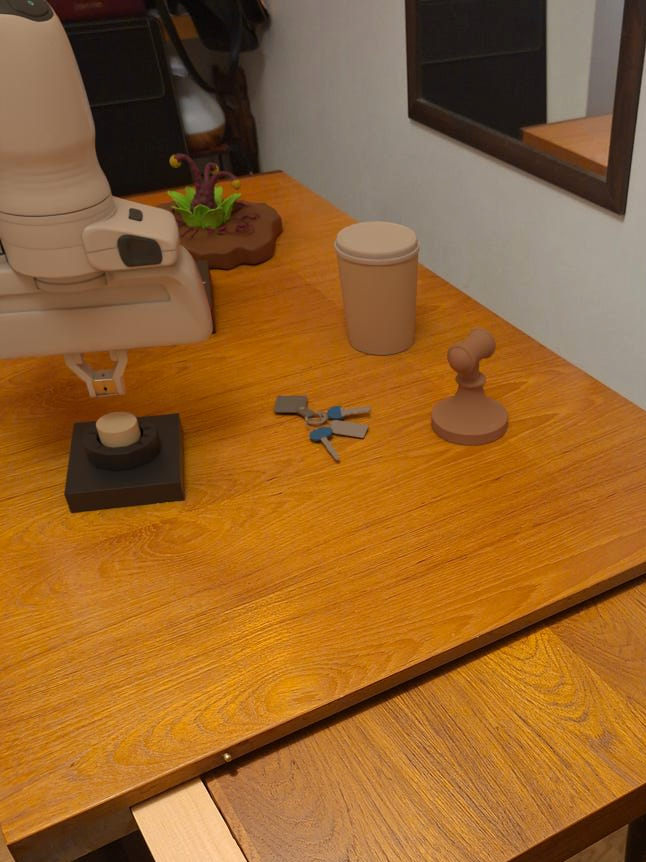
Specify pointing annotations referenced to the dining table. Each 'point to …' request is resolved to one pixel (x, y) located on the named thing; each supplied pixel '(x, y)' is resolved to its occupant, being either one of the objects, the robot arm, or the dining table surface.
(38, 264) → the robot arm
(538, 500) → the dining table surface
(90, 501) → the box
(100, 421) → the button
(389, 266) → the coffee cup
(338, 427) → the key chain
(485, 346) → the door knob
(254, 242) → the plant
